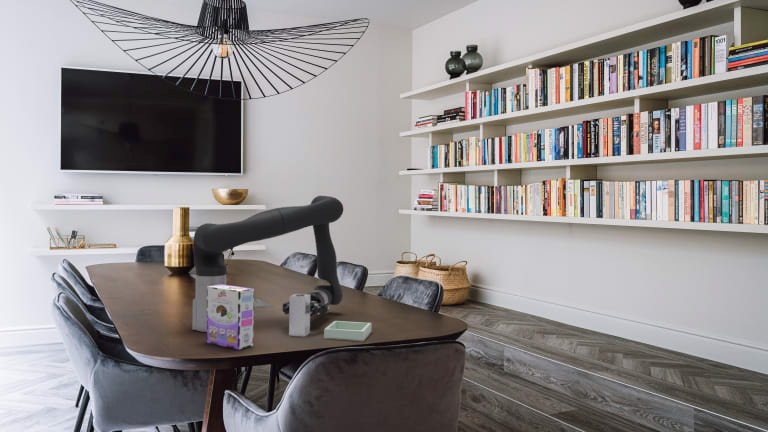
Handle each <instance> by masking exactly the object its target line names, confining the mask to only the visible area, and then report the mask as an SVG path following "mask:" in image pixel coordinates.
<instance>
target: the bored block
mask: <svg viewBox="0 0 768 432" xmlns="http://www.w3.org/2000/svg"><path fill="white" fill-rule="evenodd" d="M289 301H290V308H289V314H288V315H289V316H288V317H289V321H288V323H289V324H288V336H290V337H291V336H292V337H293V336H294V337H303V338H304V337H306V336H307V335H309V334H310V333H311V316H310V295H309V294H308V293H306V294H304V293H294V294H291V295H289Z"/></svg>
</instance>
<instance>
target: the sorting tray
mask: <svg viewBox="0 0 768 432" xmlns="http://www.w3.org/2000/svg"><path fill="white" fill-rule="evenodd" d="M323 334H324V335H323V339H324V340H334V341H349V342H350V341H351V342H362V343H363V342H364V341H365V340H366V339H367V338H369V336H370V335H371V334H372V322H363V321H362V322H361V321H359V322H358V321H347V320H346V321H343V320H334V321H332V322H331V323H330V324H329V325H327V326H326V327H325V328H324V330H323Z"/></svg>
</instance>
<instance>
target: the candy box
mask: <svg viewBox="0 0 768 432" xmlns="http://www.w3.org/2000/svg"><path fill="white" fill-rule="evenodd" d="M254 310H255V288H250V287H242V286H237V285H236V286H235V285H228V284H226V285H223V284H221V285H214V286H207V332H206V343H207V344H212V345H214V346H215V345H216V346H220V347H225V348H229V349H234V350H238V351H239V350H243V349H246V348H251V347H254V325H255V324H254V321H255V319H254V318H255V317H254V313H255V311H254Z"/></svg>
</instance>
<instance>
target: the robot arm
mask: <svg viewBox="0 0 768 432" xmlns="http://www.w3.org/2000/svg"><path fill="white" fill-rule="evenodd" d="M343 213H344V206H343V203H342V201H341V200H339V199H338V198H336V197H333V196H328V195H316V197H314V198H313V199H312V200H311V202H310V204H306V205H298V206H297V205H296V206H283V207H276V208H271V209H268V210H264V211H260V212H258V213H255V214H254V215H251V216H249V217H247V218H245V219H243V220H239V221H235V222H229V223H227V222H226V223H221V224H220V223H219V224H218V223H211V222H209V223H203V224H201V225H199V226H198V227H197V228H196V230H195V232H194V234H193V264H194V269H195V298H193V300H192V329H191V330H193V331H198V332H205V333H207V286H214V285H221V284H223V285H227V265H226V263H225V261H224V255H223V253H224V252H226V251H228V250H231V249H234V248H236V247H238V246H241V245H244V244H247V243H253V242H258V241H263V240H268V239H272V238H276V237H279V236H283V235H287V234H290V233H292V232H296V231H297V232H298V231H300V230H302V229H305V228H308V227H312V229H313V235H314V240H315V249H316V264H317V265H316V269H317V271H316V274H317V278H318V279H319V280H322V281H326V282H328V283H329V284H319V285H316V286H315V287H314V289H313V290H312V291H310V292H308V293H307V294H309V295H310V317H315V316H317V315H321V314H322V315H326V314H328V313H330V306H337V305H339V304H341V302H342V301H343V297H344V296H343V295H344V294H343V290H342V288H341V285H340V281H339V276H338V270H337V269H338V267H337V266H338V265H337V261H338V260H337V259H338V258H337V253H336V249H335V246H334V244H333V241H332V237H331V232H330V224H331V223H335V222H336V221H338V220H339V219H340V218H341V217H342V215H343ZM289 308H290V300H289V301H287V302H284V303H282V312H283V313H284V315H289Z"/></svg>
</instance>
